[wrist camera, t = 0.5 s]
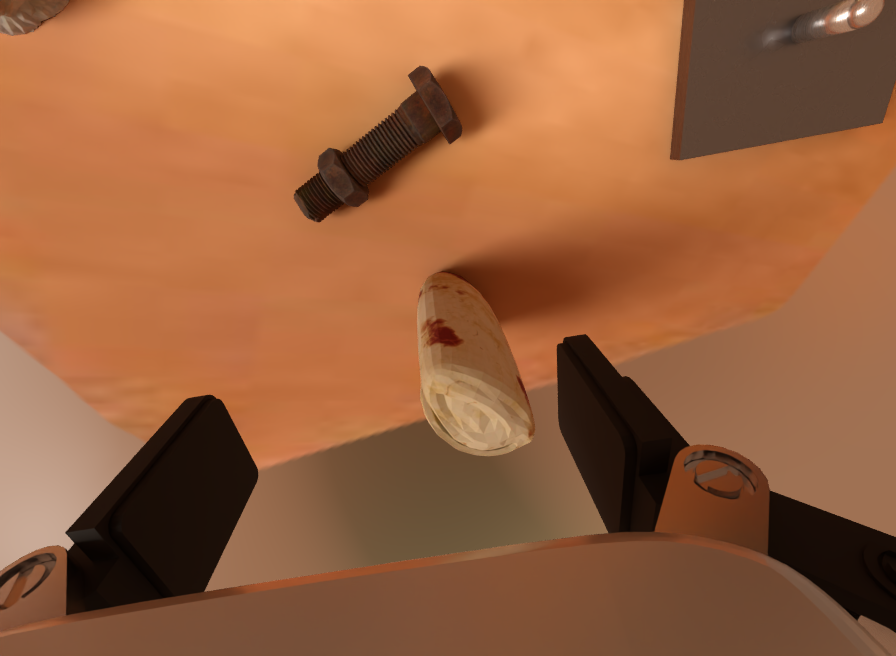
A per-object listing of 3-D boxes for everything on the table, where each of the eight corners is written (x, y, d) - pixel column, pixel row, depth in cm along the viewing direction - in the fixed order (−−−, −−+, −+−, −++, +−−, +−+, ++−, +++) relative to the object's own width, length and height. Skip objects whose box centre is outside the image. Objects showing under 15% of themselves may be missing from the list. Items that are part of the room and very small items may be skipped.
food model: (507, 307, 41) (572, 436, 23) (463, 346, 43) (492, 494, 25) (443, 244, 38) (462, 339, 20) (398, 290, 40) (378, 414, 22)
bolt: (311, 195, 37) (439, 93, 33) (336, 238, 36) (468, 140, 33) (269, 173, 31) (417, 49, 28) (297, 225, 31) (452, 105, 27)
